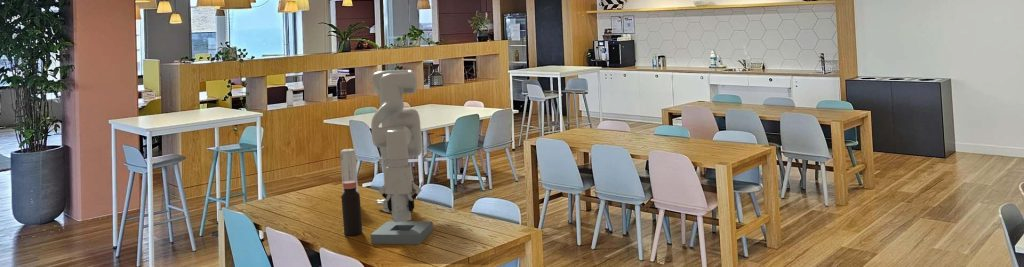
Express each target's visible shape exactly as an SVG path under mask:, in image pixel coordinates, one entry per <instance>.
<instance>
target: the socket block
mask: <svg viewBox="0 0 1024 267" xmlns="http://www.w3.org/2000/svg"><path fill="white" fill-rule="evenodd" d="M432 232H434V221H428V220H427V221H425V220H424V221H416V220H415V221H414V220H413V221H412V220H408V221H402V222H394V221H393V220H390V221H389V220H388V221H386V222H385V223H383V224H382V225H380V226H379V227H378V228H377V229H376V230H374V231H373V232H372V233H371V234H370V244H371V245H420V244H422V242H423V241H424V240H425V239H426V238H427V237H428V236H430V235H431V234H432Z"/></svg>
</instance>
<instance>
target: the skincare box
mask: <svg viewBox="0 0 1024 267" xmlns="http://www.w3.org/2000/svg"><path fill="white" fill-rule="evenodd" d="M408 201H409V198H408V196H407V195H398V194H397V190H394V195H391V209H392V213H391V221H394V222H402V221H412V213H411V212H412V211H411V212H410V211H409V204H408Z"/></svg>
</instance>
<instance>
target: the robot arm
mask: <svg viewBox="0 0 1024 267" xmlns="http://www.w3.org/2000/svg"><path fill="white" fill-rule="evenodd" d="M371 83H372V86H373V89H374V91H375V94H377V97H378V100H379V107H378V109H377V110H376V111H375V113H374V115H373V116H372V119H371V123H370V124H371V126H370V128H371V139H372V140H371V141H372V143H373V145H374V146H375V147H376V148H379V151H380V155H381V156H380V157H381V160H382V169H383V170H382V171H383V184H384V185H382V186H380V187H379V188H378V193H379V194H381V196H382V197H383V198H384V199H376V204H377V206H382V208H381V209H382V212H384V213H391V214H392V209H391V195H394V190H397V194H398V195H407V196H408V198H409V201H408V204H409V211H410V212H413V210H414V209H415V199H416V198H417V197H418V195H419V194H420V193H421V192H422V188H421V187H419V186H418V184H416V183H415V182H414V181H415V180H414V175H413V171H412V167H411V165H409V158H415V157H419V156H420V155H421V154H422V149H423V146H422V144H423V142H422V132H421V131H422V130H421V129H422V128H421V127H422V126H421V118H420V114H419V112H418V111H417V110H416V109H413V108H405V109H404V107H405V105H404V94H406V95H407V94H415V93H416V92H417V90H418V79H417V76H416V73H415V72H414V70H412V69H393V70H391V69H390V70H380V71H376V72H374V73H373V74H372V75H371ZM380 125H381V126H380ZM379 126H380V127H379ZM413 192H414V193H413Z"/></svg>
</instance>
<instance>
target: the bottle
mask: <svg viewBox="0 0 1024 267" xmlns="http://www.w3.org/2000/svg"><path fill="white" fill-rule="evenodd" d="M343 188H344V193H343V192H342V194H341V197H340V198H341V208H342V209H341V210H342V224H343V233H344V235H345V236H348V237H355V236H360V235H361V234H363V224H362V223H363V221H362V210H361V208H362V207H361V197H360V196H361V195H360V193H359V191H358V192H357V191H356V181H345V182H343V185H342V189H343Z"/></svg>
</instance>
